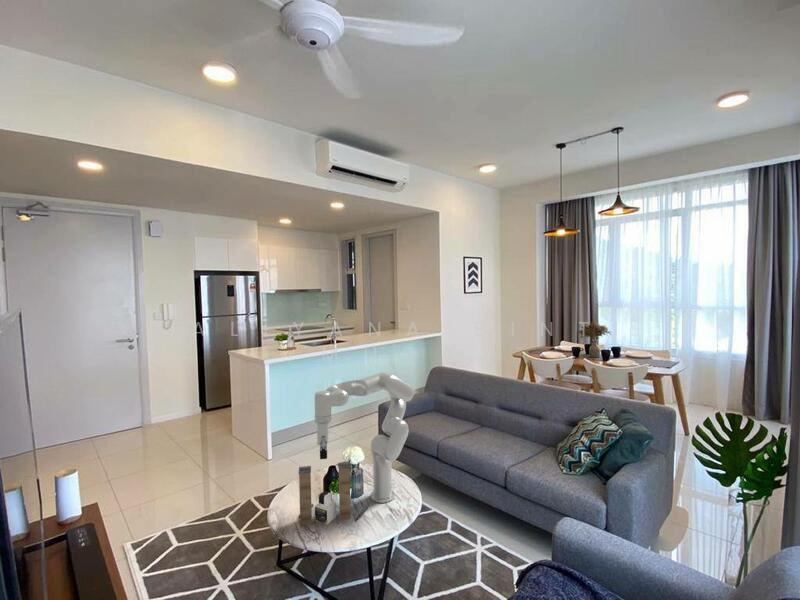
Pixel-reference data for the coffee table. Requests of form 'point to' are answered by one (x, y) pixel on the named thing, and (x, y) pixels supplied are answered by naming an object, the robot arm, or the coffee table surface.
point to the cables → (357, 516)
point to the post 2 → (344, 490)
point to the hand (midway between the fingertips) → (323, 454)
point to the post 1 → (305, 495)
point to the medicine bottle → (325, 508)
